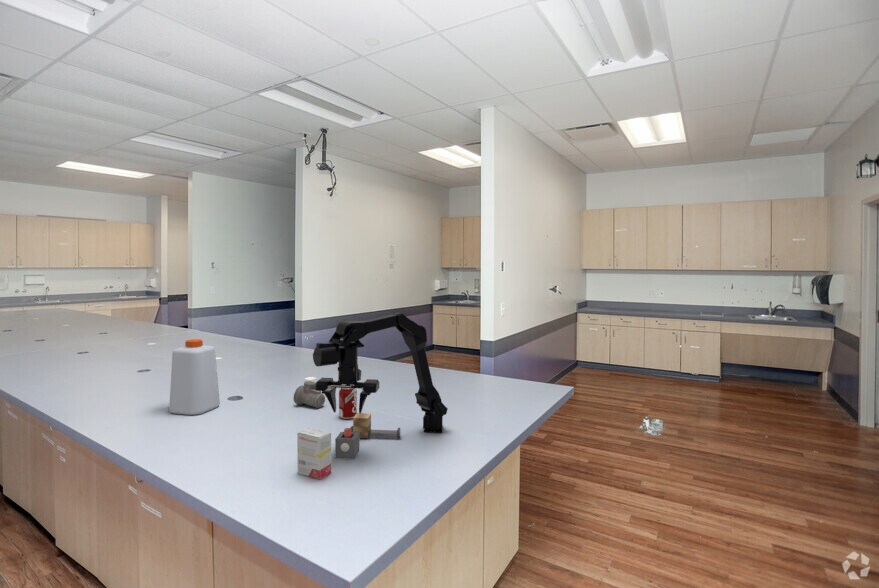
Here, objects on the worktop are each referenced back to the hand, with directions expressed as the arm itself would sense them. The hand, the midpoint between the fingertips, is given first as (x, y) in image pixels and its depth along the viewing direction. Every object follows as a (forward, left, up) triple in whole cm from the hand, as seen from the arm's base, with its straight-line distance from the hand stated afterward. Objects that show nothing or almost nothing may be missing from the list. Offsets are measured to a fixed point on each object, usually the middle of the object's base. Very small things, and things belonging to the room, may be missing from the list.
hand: (347, 412), depth 138 cm
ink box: (+6, +13, -14) cm, 20 cm away
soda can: (+9, -34, -13) cm, 37 cm away
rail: (-6, -15, -13) cm, 21 cm away
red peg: (0, 0, -9) cm, 9 cm away
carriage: (-1, -15, -13) cm, 20 cm away
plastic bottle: (+72, -37, -13) cm, 82 cm away
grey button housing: (0, 0, -13) cm, 13 cm away
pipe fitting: (+28, -46, -14) cm, 55 cm away
